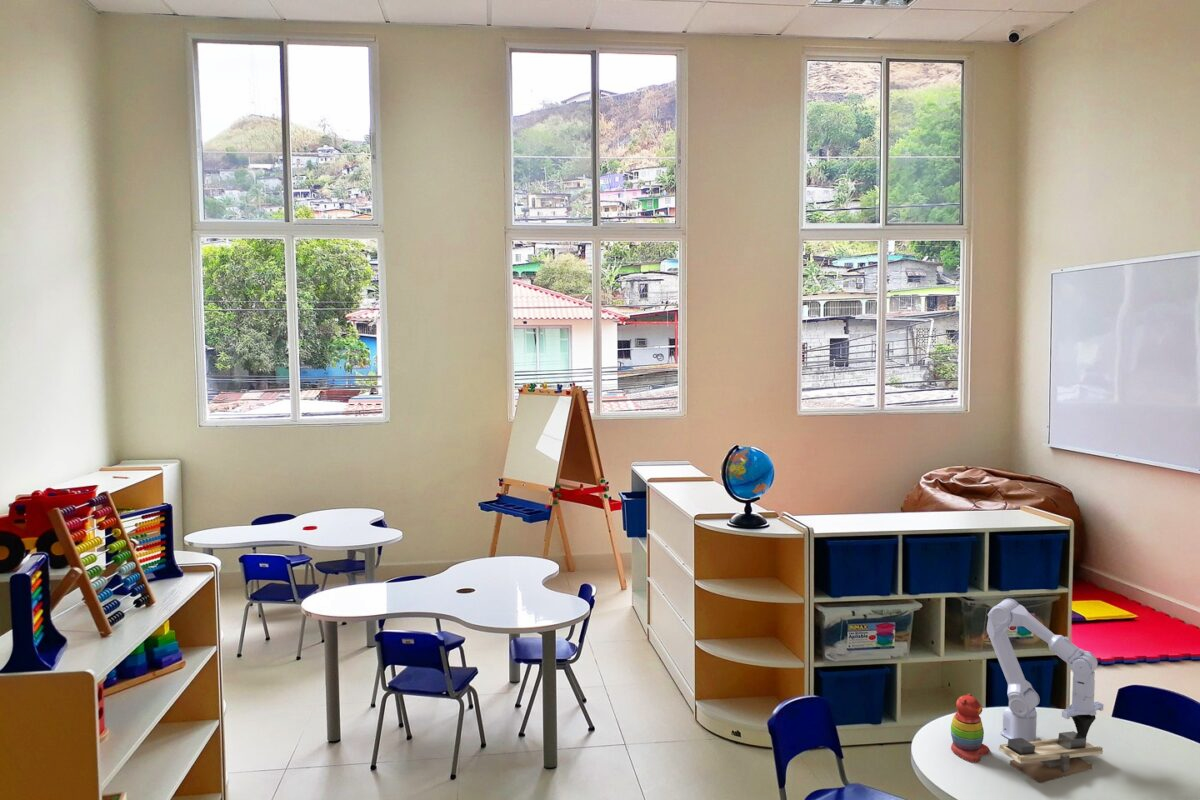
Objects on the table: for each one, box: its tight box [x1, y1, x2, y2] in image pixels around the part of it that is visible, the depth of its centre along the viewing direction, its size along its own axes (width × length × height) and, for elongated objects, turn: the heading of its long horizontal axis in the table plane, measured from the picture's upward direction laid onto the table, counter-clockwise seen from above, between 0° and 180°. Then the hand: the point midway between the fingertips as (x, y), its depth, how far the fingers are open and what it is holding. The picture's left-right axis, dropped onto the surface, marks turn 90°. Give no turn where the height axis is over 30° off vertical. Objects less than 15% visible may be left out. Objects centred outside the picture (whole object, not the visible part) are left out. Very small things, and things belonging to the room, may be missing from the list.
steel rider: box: [1057, 730, 1087, 750], centre depth 255 cm, size 4×6×4 cm
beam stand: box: [1009, 737, 1093, 784], centre depth 253 cm, size 11×20×6 cm, turn 110°
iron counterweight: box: [1007, 738, 1035, 755], centre depth 249 cm, size 5×5×3 cm
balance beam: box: [998, 738, 1104, 764], centre depth 253 cm, size 8×32×2 cm, turn 110°
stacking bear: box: [950, 693, 991, 763], centre depth 262 cm, size 11×10×18 cm
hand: (1081, 736), depth 257 cm, fingers closed
